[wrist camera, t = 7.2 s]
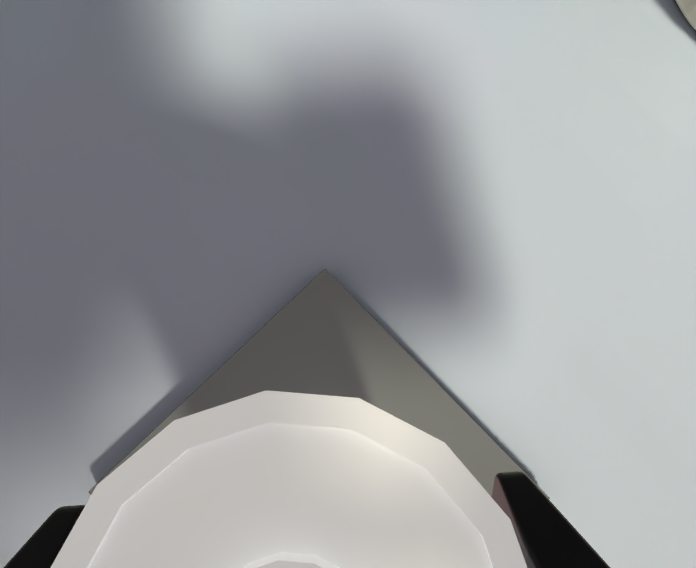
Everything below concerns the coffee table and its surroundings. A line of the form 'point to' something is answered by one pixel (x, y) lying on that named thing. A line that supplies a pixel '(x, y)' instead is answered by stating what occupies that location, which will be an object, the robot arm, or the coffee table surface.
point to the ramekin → (688, 10)
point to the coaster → (344, 375)
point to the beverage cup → (291, 495)
